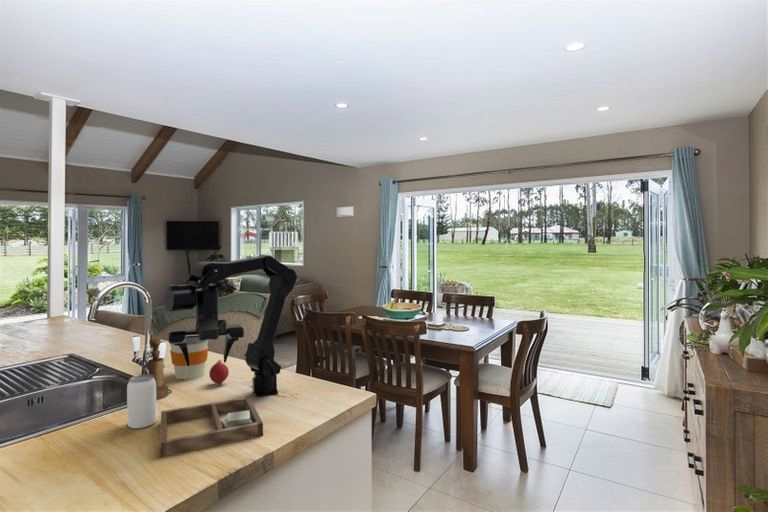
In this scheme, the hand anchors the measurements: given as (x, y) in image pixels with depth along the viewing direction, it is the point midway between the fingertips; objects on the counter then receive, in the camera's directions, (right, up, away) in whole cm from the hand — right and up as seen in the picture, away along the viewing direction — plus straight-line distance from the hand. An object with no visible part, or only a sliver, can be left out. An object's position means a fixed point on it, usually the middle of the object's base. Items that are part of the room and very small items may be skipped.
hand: (206, 364), depth 116 cm
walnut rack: (+5, -14, -10) cm, 18 cm away
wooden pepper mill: (-20, -13, +12) cm, 27 cm away
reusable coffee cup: (-19, -12, +30) cm, 38 cm away
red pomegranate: (-5, -12, +22) cm, 25 cm away
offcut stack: (+13, -14, -11) cm, 22 cm away
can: (-13, -14, -7) cm, 21 cm away
